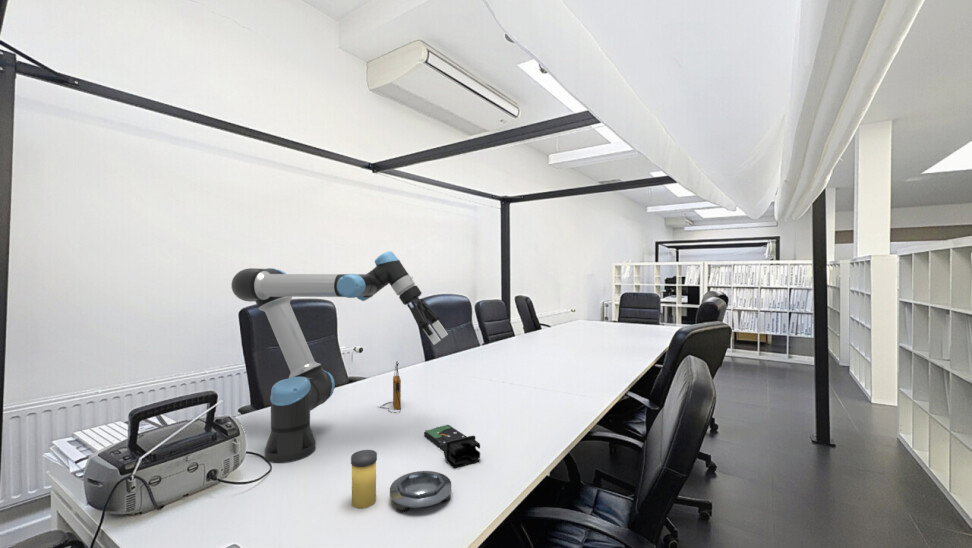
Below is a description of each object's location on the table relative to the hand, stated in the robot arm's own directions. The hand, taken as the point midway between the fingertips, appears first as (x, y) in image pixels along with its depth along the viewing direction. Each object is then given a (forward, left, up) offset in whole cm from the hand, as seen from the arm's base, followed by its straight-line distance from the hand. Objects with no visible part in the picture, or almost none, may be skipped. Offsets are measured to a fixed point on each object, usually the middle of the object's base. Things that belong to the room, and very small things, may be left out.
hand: (441, 339), depth 139 cm
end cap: (+2, -17, -36) cm, 40 cm away
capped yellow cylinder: (-29, -28, -36) cm, 54 cm away
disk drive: (+2, 0, -37) cm, 37 cm away
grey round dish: (-15, -32, -36) cm, 50 cm away
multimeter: (-11, +42, -36) cm, 57 cm away
